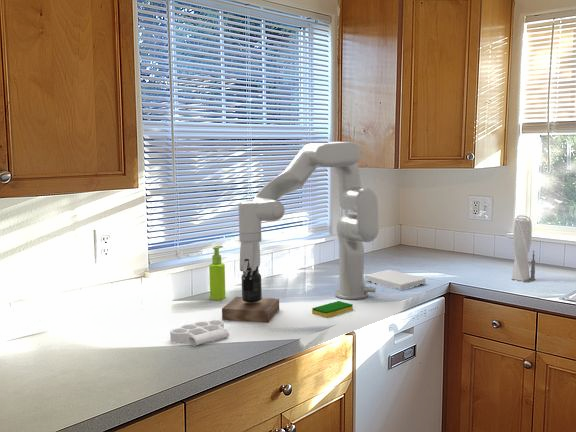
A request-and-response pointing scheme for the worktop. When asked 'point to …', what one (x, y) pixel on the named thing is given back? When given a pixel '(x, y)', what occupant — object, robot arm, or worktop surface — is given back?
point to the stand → (250, 310)
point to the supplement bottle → (257, 288)
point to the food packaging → (395, 279)
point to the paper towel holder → (522, 250)
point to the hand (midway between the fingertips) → (251, 287)
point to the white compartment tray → (199, 332)
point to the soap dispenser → (217, 276)
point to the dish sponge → (332, 309)
